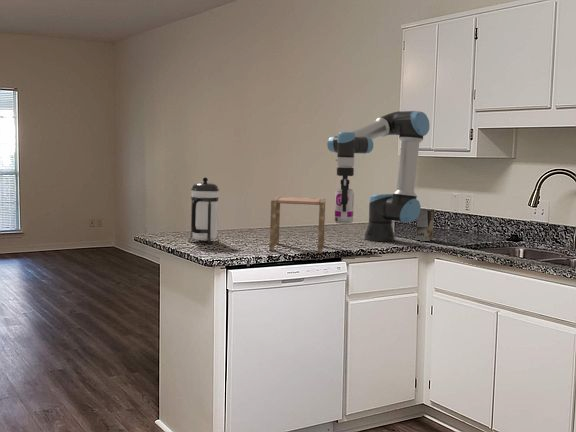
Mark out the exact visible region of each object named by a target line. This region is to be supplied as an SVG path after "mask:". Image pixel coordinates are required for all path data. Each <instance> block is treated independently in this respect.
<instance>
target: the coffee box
mask: <svg viewBox="0 0 576 432" xmlns="http://www.w3.org/2000/svg"><path fill="white" fill-rule="evenodd" d="M416 220H417V221H416V237H415V238H416V239H415V240H420V241H419V242H422V241H429V240H432V239H433V238H434V237H433V236H434V223H435V221H434V220H435V209H433V208H421V209H420V213H419V215H418V217H417V218H416ZM432 241H433V240H432ZM429 242H430V241H429Z"/></svg>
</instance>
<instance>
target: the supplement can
mask: <svg viewBox="0 0 576 432" xmlns="http://www.w3.org/2000/svg"><path fill="white" fill-rule="evenodd" d="M334 194H335V195H334V197H335V199H334V200H335V201H334V222H335V223H336V224H339V225H340V224H342V225H347V224H348V225H350V224H352V223H353V222H354V204H355V203H354V201H355V199H354V198H355V197H354V196H355V193H354V190H353V189H351V188H349V189H348V194H347V201H348V203H347V219H341V204H340V202H341V201H342V190H341V188H337V189H336V191H335V193H334Z"/></svg>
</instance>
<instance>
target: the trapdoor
mask: <svg viewBox="0 0 576 432" xmlns="http://www.w3.org/2000/svg"><path fill="white" fill-rule="evenodd" d="M280 197H281V198H280V199H278V200H277V203H280V204H290V205H291V204H292V205H315V206H319V205H320V199H312V198H313V197H297V198H287V197H288V196H280Z"/></svg>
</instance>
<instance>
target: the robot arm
mask: <svg viewBox="0 0 576 432" xmlns="http://www.w3.org/2000/svg"><path fill="white" fill-rule="evenodd" d="M430 125H431V124H430V120H429V118H428V116H427V114H426V113H425V112H423V111H421V110H420V111H418V110H411V111H410V110H408V111H407V110H406V111H393V112H390V113H388V114H385V115H383V116H380V117H378V118H376V119H375V120H374V121H373V122H370V123H368V124H366V125H364V126H361V127H358V128H356V129H353V130H352V131H340V132H338V134H337V135H335V136H334V135H333V136H330V137H329V138H328V140H327V143H326V145H327V146H326V147H327V149H328V151H329V152H330V153H336V154H337V155H336V156H337V157H336V158H337V159H335V161H336V162H337V163H336V166H337V167H336V176H339V177H342V179H340V189H341V190H342V201H341V202H340V204H341V219H347V203H348V201H347V194H348V189H350V188H349V187H350V179H349V178H348V177H353V176H354V171H355V167H354V166H355V154H364V155H365V154H369V153H371V152H372V151H373V150H374V139H377V138H379V137H386V136H394V135H395V136H398V139H399V140H400V141H401V146H400V154H399V162H398V165H399V166H398V172H397V183H396V190H395V191H393V193H384V194H372V195H371V196H370V197H369V205H368V225H367V227H366V230H365V233H364V240H367V241H372V242H373V241H374V242H394V241H395V239H396V237H395V236H396V235H395V231H394V228H393V221H394V222H400V223H413V222H414V221H416V220H417V218H418V215H419V213H420V209H422V208H421V204H420V201H419V200H418V199H417V198H418V196H417V194H416V193H415V187H416V176H417V169H418V168H417V167H418V158H419V151H420V150H419V149H420V143H422V142H423V141H424V136H426V135H428V133H429V131H430Z"/></svg>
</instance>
